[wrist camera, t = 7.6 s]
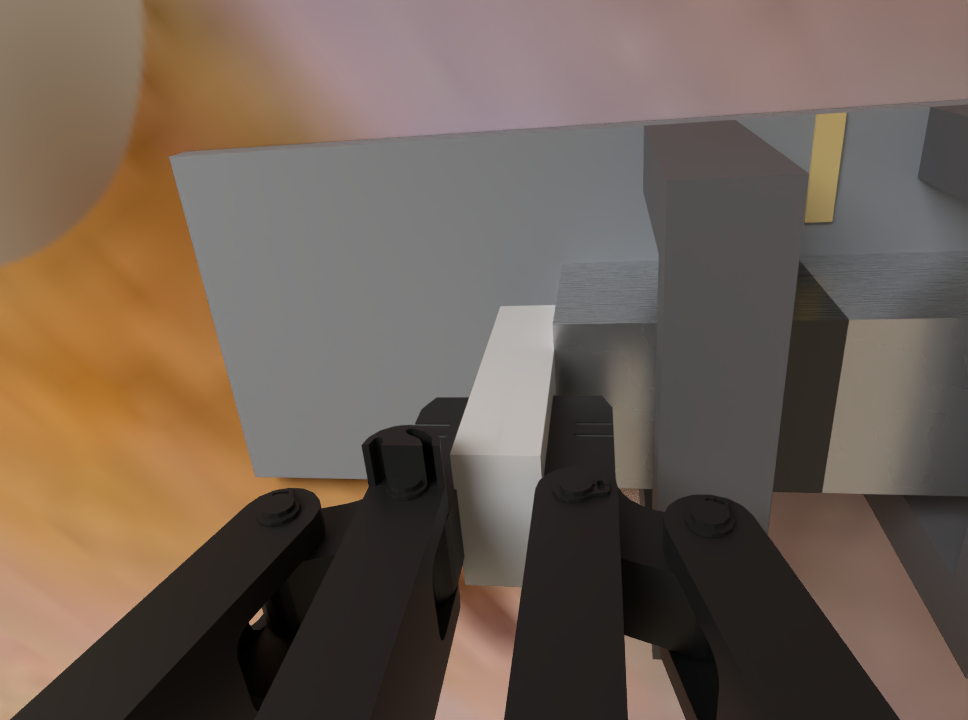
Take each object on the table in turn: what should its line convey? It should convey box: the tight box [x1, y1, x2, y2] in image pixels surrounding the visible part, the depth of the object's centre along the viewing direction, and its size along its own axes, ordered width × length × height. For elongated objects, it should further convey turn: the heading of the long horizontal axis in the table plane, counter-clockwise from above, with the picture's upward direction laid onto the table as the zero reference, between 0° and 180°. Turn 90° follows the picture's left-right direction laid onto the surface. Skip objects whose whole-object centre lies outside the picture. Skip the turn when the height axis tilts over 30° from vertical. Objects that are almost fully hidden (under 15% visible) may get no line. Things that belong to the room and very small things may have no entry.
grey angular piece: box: [169, 99, 968, 679], centre depth 16 cm, size 10×22×7 cm, turn 94°
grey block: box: [553, 251, 968, 496], centre depth 16 cm, size 10×4×4 cm, turn 94°
